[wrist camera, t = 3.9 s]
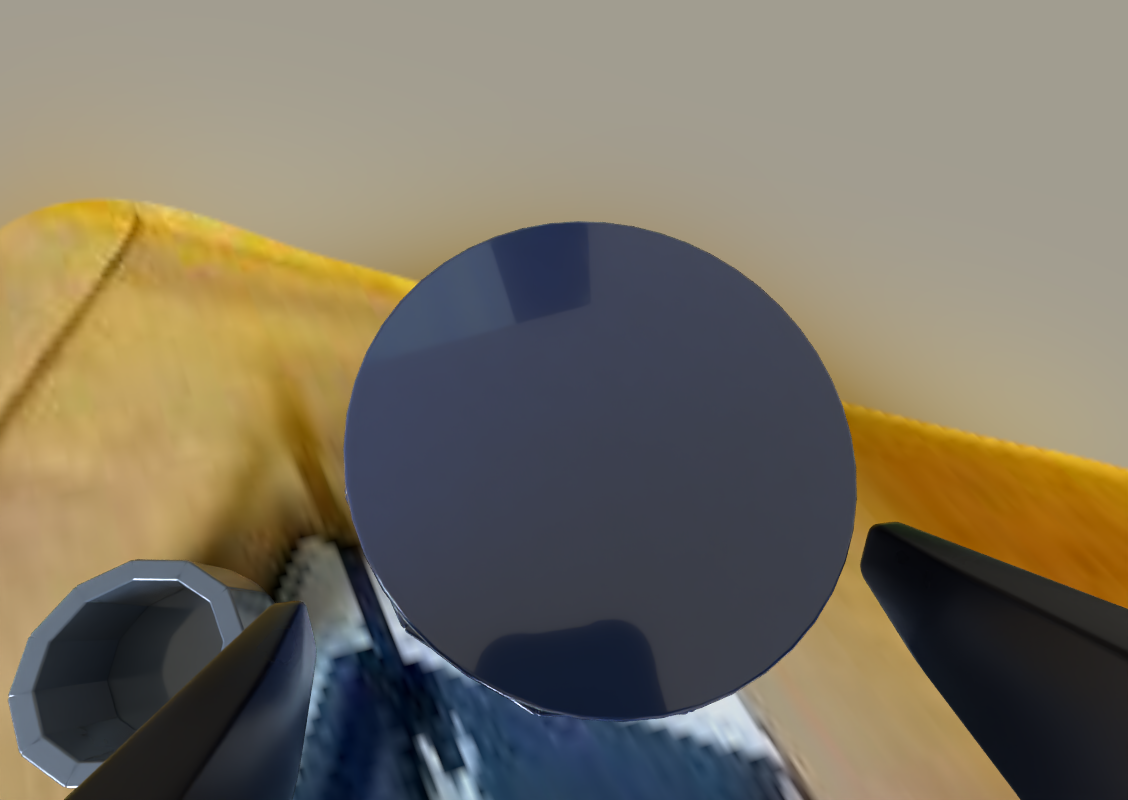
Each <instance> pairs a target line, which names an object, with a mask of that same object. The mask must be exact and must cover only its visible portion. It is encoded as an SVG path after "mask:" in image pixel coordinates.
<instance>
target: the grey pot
mask: <svg viewBox="0 0 1128 800" xmlns="http://www.w3.org/2000/svg"><path fill="white" fill-rule="evenodd" d="M273 604H275V603H274V601H273V600H272V598H271V597H270V596H269V594H268V593H267V592H266V591H265V590H264V589H263V588H262V587H260V586H259V585H258V584H257V583H255V582H254V581H252V580H250V579H248V578H246V577H244V576H241V575H239V574H238V573H236V572H235V571H232V570H229V569H224V568H220V567H215V566H211V565H206V564H202V563H198V562H193V561H189V560H152V559H136V560H131V561H129V562H127V563H125V564H123V565H120V566H118V567H116V568H114V569H112V570H110V571H107V572H105V573H103V574H101V575H99V576H97V577H94V578H92V579H90V580H88V581H86V582H84V583H81V584H79V585H77V587H75V588H74V589H73V590H72V591H71V592H70V593H69V594H68V595H67V596H66V597H65V598H64V599H63V600H62V601H61V603H60V604H59V605H58V606H57V607H56V608H55V609H54V610H53V611H52V612H51V613H50V614H49V615H48V616H47V617H46V619H45V620H44V621H43V622H42V623H41V624H40V625H39V626H38V627H37V628H36V629H35V630H34V631H33V632H32V634H31V636H30V637H29V638H28V641H27V644H26V647H25V649H24V652H23V655H22V658H21V661H20V664H19V667H18V669H17V672H16V675H15V678H14V681H13V684H12V686H11V689H10V692H9V698H8V702H9V707H10V712H11V716H12V721H13V726H14V730H15V735H16V740H17V744H18V749H19V752H20V753H21V756H22V757H24V758H25V759H26V760H28V761H29V762H30V763H32V764H33V765H34V766H36V767H37V768H38V769H40V770H41V771H43V772H44V773H45V774H47V775H48V776H49V777H51V778H52V779H53V780H55V781H56V782H57V783H59V784H60V785H61V786H63V787H67V788H77V787H78V786H79V785H80V784H81V783H82V782H83V781H84V780H85V779H86V778H87V777H88V776H89V775H90V774H92V773H93V772H94V771H95V770H96V769H97V768H98V767H99V766H100V765H101V764H102V763H103V762H104V761H105V760H106V759H107V758H109V757H110V756H111V755H112V754H113V753H114V752H115V751H116V750H117V749H118V748H119V747H120V746H121V745H122V744H123V743H124V742H126V741H127V740H128V739H129V738H130V737H131V736H132V735H133V734H134V733H135V732H136V731H137V730H138V729H139V728H140V727H141V726H142V725H144V724H145V723H146V722H147V721H148V720H149V719H150V718H151V717H152V716H153V715H154V714H155V713H156V712H157V711H158V710H159V709H161V708H162V707H163V706H164V705H165V704H166V703H167V702H168V701H169V700H170V699H171V698H172V697H173V696H174V695H175V694H176V693H178V692H179V691H180V690H181V689H182V688H183V687H184V686H185V685H186V684H187V683H188V682H189V681H190V680H191V679H192V678H193V677H195V676H196V675H197V674H198V673H199V672H200V671H201V670H202V669H203V668H204V667H205V666H206V665H207V664H208V663H209V662H210V661H212V660H213V659H214V658H215V657H216V656H217V655H218V654H219V653H220V652H221V651H222V650H223V649H224V648H225V647H226V646H227V645H229V644H230V643H231V642H232V641H233V640H234V639H235V638H236V637H237V636H238V635H239V634H240V633H241V632H242V631H243V630H244V629H246V628H247V627H248V626H249V625H250V624H251V623H252V622H253V621H254V620H255V619H256V618H257V617H258V616H259V615H260V614H261V613H262V612H264V611H265V610H266V609H267V608H268V607H269V606H271V605H273Z"/></svg>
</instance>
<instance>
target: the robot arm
mask: <svg viewBox="0 0 1128 800" xmlns="http://www.w3.org/2000/svg"><path fill="white" fill-rule="evenodd" d="M860 568H861V573H862V575H863V578H864V580H865V581H866V583H867V584H868V586H869V587H870V589H871V591H872V592H873V594H874V595H875V597H876V599H877V600H878V602H879V603H880V605H881V607H882V608H883V610H884V611H885V613H886V614H887V616H888V618H889V619H890V621H891V622H892V624H893V626H894V627H895V629H896V630H897V632H898V633H899V635H900V637H901V638H902V640H903V641H904V643H905V645H906V646H907V648H908V649H909V651H910V652H911V654H912V655H913V657H914V658H915V660H916V661H917V663H918V664H919V665H920V667H921V668H922V670H923V671H924V672H925V674H926V675H927V677H928V678H929V679H930V680H931V682H932V683H933V684H934V686H935V687H936V688H937V690H938V691H939V692H940V694H941V695H942V696H943V698H944V699H945V700H946V702H947V703H948V704H949V706H950V707H951V708H952V710H953V711H954V712H955V714H956V715H957V716H958V718H959V719H960V720H961V721H962V723H963V724H964V725H965V727H966V728H967V729H968V731H969V732H970V733H971V735H972V736H973V737H974V739H975V740H976V741H977V743H978V744H979V745H980V747H981V748H982V749H983V751H984V752H985V753H986V755H987V756H988V757H989V759H990V760H991V761H992V762H993V764H994V765H995V766H996V768H997V769H998V770H999V772H1000V773H1001V774H1002V776H1003V777H1004V778H1005V780H1006V781H1007V782H1008V784H1009V785H1010V786H1011V788H1012V789H1013V790H1014V792H1015V793H1016V794H1017V796H1018V797H1019V798H1020V800H1128V609H1126V608H1123V607H1121V606H1118V605H1116V604H1113V603H1110V602H1108V601H1105V600H1102V599H1100V598H1097V597H1094V596H1092V595H1089V594H1087V593H1084V592H1081V591H1079V590H1076V589H1073V588H1071V587H1068V586H1066V585H1063V584H1060V583H1058V582H1055V581H1052V580H1050V579H1047V578H1044V577H1042V576H1039V575H1037V574H1034V573H1031V572H1029V571H1026V570H1023V569H1021V568H1018V567H1016V566H1013V565H1010V564H1008V563H1005V562H1002V561H1000V560H997V559H994V558H992V557H989V556H987V555H984V554H981V553H979V552H976V551H973V550H971V549H968V548H966V547H963V546H960V545H958V544H955V543H952V542H950V541H947V540H944V539H942V538H939V537H937V536H934V535H931V534H929V533H926V532H923V531H921V530H918V529H915V528H913V527H910V526H908V525H905V524H902V523H899V522H888V523H880V524H875V525H873V526H872V527H871V528H870V529H869V532H868V535H867V539H866V543H865V547H864V551H863V554H862V558H861V563H860ZM315 663H316V643H315V639H314V635H313V631H312V627H311V623H310V619H309V615H308V611H307V607H306V605H305V604H304V602H302V601H290V602H283V603H276V604H273V605H271V606H269V607H268V608H267V609H266V610H265V611H264V612H262V613H261V614H260V615H259V616H258V617H257V618H256V619H255V620H254V621H253V622H252V623H251V624H250V625H249V626H248V627H247V628H246V629H244V630H243V631H242V632H241V633H240V634H239V635H238V636H237V637H236V638H235V639H234V640H233V641H232V642H231V643H230V644H229V645H227V646H226V647H225V648H224V649H223V650H222V651H221V652H220V653H219V654H218V655H217V656H216V657H215V658H214V659H213V660H212V661H210V662H209V663H208V664H207V665H206V666H205V667H204V668H203V669H202V670H201V671H200V672H199V673H198V674H197V675H196V676H195V677H193V678H192V679H191V680H190V681H189V682H188V683H187V684H186V685H185V686H184V687H183V688H182V689H181V690H180V691H179V692H178V693H176V694H175V695H174V696H173V697H172V698H171V699H170V700H169V701H168V702H167V703H166V704H165V705H164V706H163V707H162V708H161V709H159V710H158V711H157V712H156V713H155V714H154V715H153V716H152V717H151V718H150V719H149V720H148V721H147V722H146V723H145V724H144V725H142V726H141V727H140V728H139V729H138V730H137V731H136V732H135V733H134V734H133V735H132V736H131V737H130V738H129V739H128V740H127V741H126V742H124V743H123V744H122V745H121V746H120V747H119V748H118V749H117V750H116V751H115V752H114V753H113V754H112V755H111V756H110V757H109V758H107V759H106V760H105V761H104V762H103V763H102V764H101V765H100V766H99V767H98V768H97V769H96V770H95V771H94V772H93V773H92V774H90V775H89V776H88V777H87V778H86V779H85V780H84V781H83V782H82V783H81V784H80V785H79V786H78V787H77V788H76V789H75V790H73V791H72V792H71V793H70V794H69V795H68V796H67V797H66V798H65V799H64V800H292V799H293V795H294V791H295V786H296V782H297V778H298V773H299V767H300V762H301V756H302V749H303V743H304V736H305V729H306V723H307V716H308V710H309V703H310V696H311V690H312V683H313V676H314V670H315Z"/></svg>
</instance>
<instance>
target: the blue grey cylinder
mask: <svg viewBox="0 0 1128 800" xmlns="http://www.w3.org/2000/svg"><path fill="white" fill-rule="evenodd" d="M343 456H344V476H345V494H346V497H345V499H346V501H347V503H348V505H349V508H350V513H351V518H352V522H353V524H354V527H355V530H356V533H357V536H358V539H359V541H360V544H361V547H362V550H363V553H364V556H365V558H366V559H367V561H368V563H369V565H370V567H371V569H372V571H373V573H374V575H375V577H376V578H377V580H378V582H379V584H380V586H381V588H382V590H383V591H384V593H385V594H386V595H387V597H388V598H389V600H390V601H391V604H392V606H393V608H394V610H395V613H396V615H397V617H398V620H399V622H400V624H401V626H402V627H403V628H406V629H405V631H406V632H407V633H408V634H410V635H411V636H413V637H414V638H416V639H417V640H419V641H420V642H422V643H423V644H425V645H426V646H428V647H429V648H431V649H432V650H434V651H435V652H436V653H437V654H438V655H440V656H441V657H442V658H444V659H445V660H446V661H448V662H449V663H450V664H452V665H453V666H454V667H455V668H457V669H458V670H459V671H461V672H462V673H463V674H465V675H466V676H467V677H469V678H471V679H473V680H475V681H476V682H478V683H480V684H482V685H484V686H485V687H487V688H489V689H491V690H493V691H494V692H496V693H498V694H500V695H502V696H503V697H506V698H507V699H509V700H510V701H512V702H513V703H515V704H517V705H518V706H520V707H521V708H523V709H524V710H526V711H527V712H529V713H530V714H532V715H535V714H537V716H539V717H563V716H568V717H573V718H577V719H582V720H599V721H616V722H627V721H637V720H648V719H658V718H665V717H668V716H672V715H676V714H687V713H688V712H693V711H695V710H696V709H699V708H702V707H704V706H707V705H709V704H711V703H714V702H716V701H718V700H720V699H723V698H725V697H727V696H730V695H732V694H734V693H736V692H738V691H739V690H741V689H742V688H744V687H745V686H747V685H748V684H750V683H752V682H753V681H755V680H756V679H758V678H759V677H761V676H763V675H764V674H766V673H767V672H768V671H769V670H770V669H771V668H772V667H774V666H775V665H776V664H777V663H778V662H779V661H780V660H782V659H783V658H784V657H785V656H786V655H787V654H788V653H789V652H791V651H792V650H793V649H794V647H795V646H796V645H797V644H798V642H799V641H800V640H801V639H802V638H803V636H804V635H805V634H806V633H807V632H808V630H809V629H810V628H811V627H812V626H813V624H814V623H815V622H816V620H817V618H818V617H819V615H820V613H821V612H822V610H823V608H824V607H825V605H826V603H827V602H828V600H829V598H830V596H831V595H832V593H833V591H834V588H835V586H836V584H837V581H838V579H839V576H840V574H841V571H842V569H843V567H844V564H845V562H846V558H847V554H848V550H849V546H850V542H851V538H852V534H853V529H854V519H855V510H856V501H857V488H856V464H855V457H854V451H853V444H852V438H851V434H850V430H849V426H848V423H847V419H846V416H845V412H844V409H843V406H842V403H841V401H840V398H839V396H838V393H837V391H836V389H835V386H834V384H833V381H832V379H831V377H830V375H829V373H828V372H827V370H826V368H825V366H824V364H823V363H822V361H821V359H820V357H819V355H818V354H817V352H816V350H815V349H814V348H813V346H812V345H811V343H810V342H809V341H808V339H807V338H806V336H805V335H804V333H803V332H802V331H801V329H800V328H799V327H798V326H797V324H796V323H795V322H794V321H793V320H792V319H791V318H790V317H789V315H788V314H787V313H786V312H785V311H784V310H783V308H782V307H781V306H780V305H779V304H777V302H775V301H774V300H773V299H772V298H771V297H770V296H769V295H768V294H767V293H766V292H765V291H764V290H762V289H761V288H760V287H759V286H758V285H757V284H755V283H754V282H753V281H751V280H750V279H749V278H747V277H746V276H744V275H743V274H742V273H741V272H739V271H738V270H737V269H735V268H733V267H732V266H730V265H728V264H727V263H725V262H723V261H722V260H720V259H719V258H717V257H715V256H714V255H712V254H710V253H708V252H705V251H703V250H701V249H699V248H697V247H695V246H693V245H691V244H689V243H687V242H684V241H681V240H678V239H675V238H673V237H670V236H667V235H664V234H662V233H658V232H653V231H650V230H646V229H642V228H637V227H634V226H627V225H620V224H613V223H606V222H581V221H577V222H563V223H549V224H543V225H538V226H533V227H527V228H522V229H519V230H515V231H512V232H509V233H505V234H502V235H499V236H496V237H493V238H491V239H489V240H486V241H484V242H482V243H479V244H477V245H475V246H472V247H470V248H468V249H467V250H465V251H463V252H461V253H460V254H458V255H456V256H455V257H453V258H451V259H449V260H448V261H446V262H444V263H443V264H442V265H440V266H439V267H438V268H436V269H435V270H434V271H433V272H431V273H430V274H429V275H427V276H426V277H425V278H424V279H422V280H421V281H420V282H419V283H418V284H417V285H416V286H415V287H414V288H413V289H412V290H411V291H410V292H409V293H408V294H407V295H406V296H405V297H404V298H403V299H402V300H401V301H400V302H399V304H398V305H397V306H396V307H395V309H394V310H393V311H392V313H391V314H390V315H389V317H388V318H387V319H386V320H385V322H384V323H383V324H382V326H381V328H380V329H379V331H378V333H377V335H376V336H375V338H374V340H373V342H372V343H371V345H370V347H369V349H368V350H367V352H366V354H365V357H364V359H363V362H362V364H361V367H360V369H359V372H358V374H357V377H356V379H355V382H354V385H353V390H352V394H351V398H350V402H349V406H348V410H347V414H346V424H345V435H344V445H343Z"/></svg>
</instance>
